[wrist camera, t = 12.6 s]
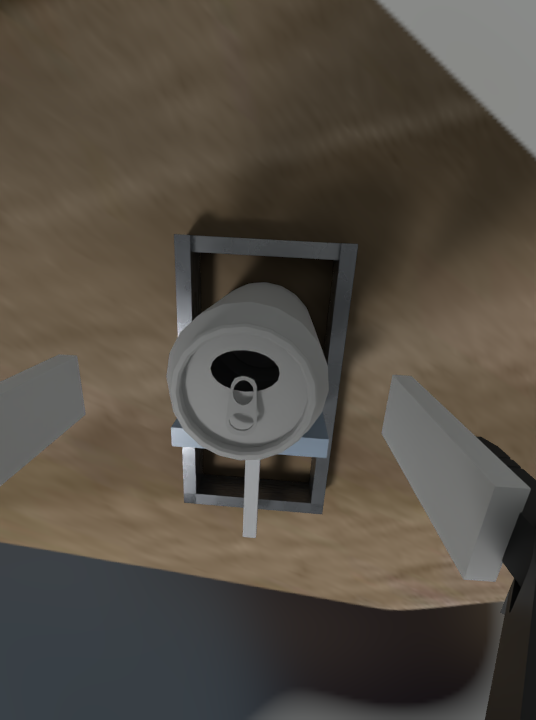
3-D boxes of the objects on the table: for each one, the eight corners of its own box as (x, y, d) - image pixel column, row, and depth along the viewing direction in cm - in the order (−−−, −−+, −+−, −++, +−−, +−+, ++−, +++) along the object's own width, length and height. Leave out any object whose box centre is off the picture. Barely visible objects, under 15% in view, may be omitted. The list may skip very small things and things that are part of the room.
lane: (192, 482, 29) (184, 502, 27) (185, 236, 23) (174, 234, 20) (319, 492, 29) (322, 514, 27) (350, 245, 22) (358, 244, 20)
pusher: (206, 490, 29) (178, 574, 22) (205, 375, 26) (170, 427, 18) (303, 498, 29) (309, 586, 21) (316, 383, 25) (328, 439, 18)
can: (317, 284, 23) (347, 316, 12) (307, 380, 26) (322, 483, 14) (214, 277, 23) (146, 301, 12) (213, 373, 26) (155, 468, 14)
